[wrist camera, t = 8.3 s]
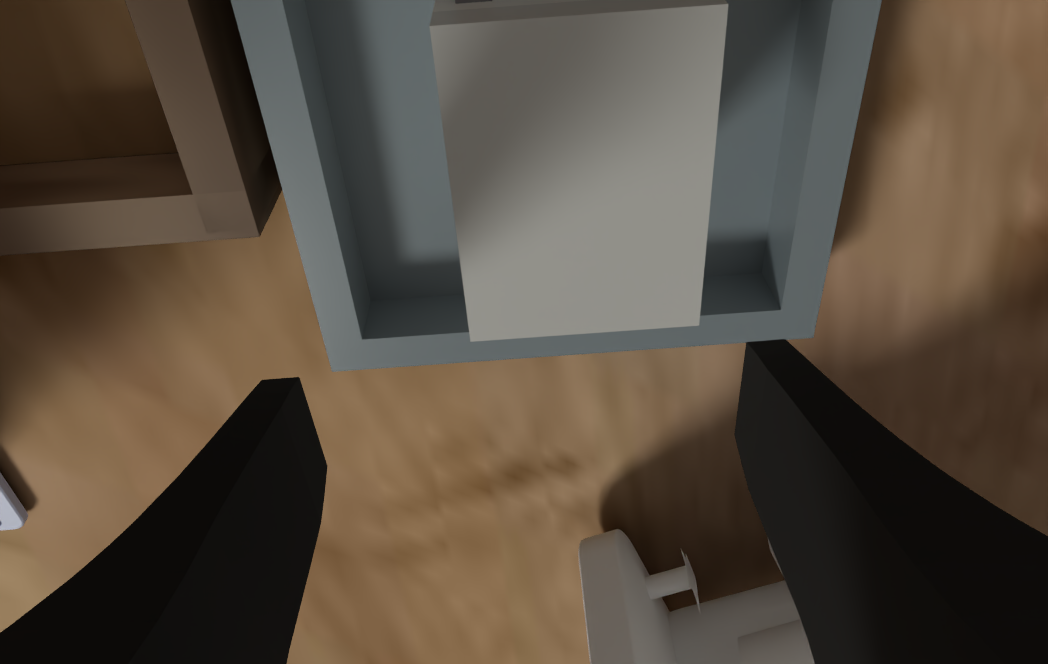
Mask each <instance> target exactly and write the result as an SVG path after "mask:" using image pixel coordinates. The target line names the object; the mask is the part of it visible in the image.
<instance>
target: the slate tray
mask: <svg viewBox="0 0 1048 664" xmlns="http://www.w3.org/2000/svg"><path fill="white" fill-rule="evenodd" d="M725 1H726V2H727V3H728V15H727V26H726V37H725V47H724V58H723V69H722V80H721V91H720V102H719V113H718V124H717V135H716V146H715V157H714V168H713V179H712V190H711V201H710V212H709V223H708V234H707V245H706V256H705V267H704V278H703V289H702V299H701V310H700V321H699V326H687V327H673V328H658V329H644V330H630V331H616V332H602V333H588V334H573V335H559V336H545V337H531V338H517V339H503V340H488V341H474V342H470V334H469V327H468V319H467V311H466V304H465V296H464V288H463V280H462V273H461V265H460V257H459V250H458V242H457V234H456V227H455V219H454V211H453V204H452V196H451V188H450V181H449V173H448V165H447V157H446V150H445V142H444V134H443V127H442V119H441V111H440V104H439V96H438V88H437V81H436V73H435V65H434V58H433V50H432V42H431V35H430V27H429V26H430V21H431V17H432V12H433V8H434V3H435V0H231V3H232V7H233V10H234V14H235V18H236V21H237V25H238V29H239V32H240V36H241V40H242V43H243V47H244V51H245V54H246V58H247V62H248V65H249V69H250V73H251V76H252V80H253V84H254V87H255V91H256V95H257V98H258V102H259V106H260V109H261V113H262V117H263V120H264V124H265V128H266V131H267V135H268V139H269V142H270V146H271V150H272V153H273V157H274V161H275V164H276V168H277V172H278V175H279V179H280V183H281V186H282V190H283V194H284V197H285V201H286V205H287V208H288V212H289V216H290V219H291V223H292V227H293V230H294V234H295V238H296V241H297V245H298V249H299V252H300V256H301V260H302V263H303V267H304V270H305V274H306V278H307V281H308V285H309V289H310V292H311V296H312V300H313V303H314V307H315V311H316V314H317V318H318V322H319V325H320V329H321V333H322V336H323V340H324V344H325V347H326V351H327V355H328V358H329V362H330V366H331V369H332V372H334V371H348V370H362V369H377V368H391V367H405V366H419V365H433V364H448V363H462V362H476V361H490V360H504V359H519V358H533V357H547V356H561V355H575V354H590V353H604V352H618V351H632V350H646V349H661V348H675V347H689V346H703V345H717V344H732V343H746V342H753V341H766V340H778V339H785V340H788V339H803V338H813V336H814V331H815V327H816V322H817V317H818V312H819V307H820V302H821V297H822V292H823V287H824V282H825V277H826V272H827V267H828V262H829V258H830V253H831V248H832V243H833V238H834V233H835V228H836V223H837V218H838V213H839V208H840V203H841V198H842V194H843V189H844V184H845V179H846V174H847V169H848V164H849V159H850V154H851V149H852V144H853V139H854V134H855V130H856V125H857V120H858V115H859V110H860V105H861V100H862V95H863V90H864V85H865V80H866V75H867V70H868V65H869V61H870V56H871V51H872V46H873V41H874V36H875V31H876V26H877V21H878V16H879V11H880V6H881V1H882V0H725Z"/></svg>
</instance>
